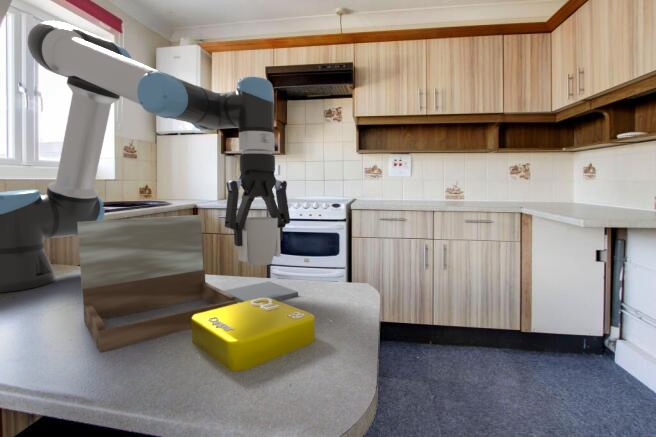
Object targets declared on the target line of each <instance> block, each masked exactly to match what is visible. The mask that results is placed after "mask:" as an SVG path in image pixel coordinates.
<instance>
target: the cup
mask: <svg viewBox="0 0 656 437" xmlns="http://www.w3.org/2000/svg"><path fill="white" fill-rule="evenodd" d="M277 224H278V218H272V217H270V216H251V217H249V216H247V219H246V222H245V225H244V228H243V231H247V258H248V262H247V263H248V265H249V266H253V267H261V266H268V265H271V264H272V263H273V259H274V257H275V256H274V253H275V247H276V240H277Z"/></svg>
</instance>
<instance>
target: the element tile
mask: <svg viewBox="0 0 656 437" xmlns="http://www.w3.org/2000/svg"><path fill="white" fill-rule="evenodd" d="M315 319H316V318H315V315H314V314H312V313H311V312H308V311H305V310H303V309H299V308H297V307H294V306H292V305H289V304H288V303H287V304H286V303H284V302H281V301H280V300H278V301H276V300H274V299H271V298H268V297H261V298H257V299H253V300H249V301H245V302H241V303H240V302H238V303H237V304H233V305H229V306H225V307H221V308H217V309H213V310H209V311H205V312H201V313H197V314H194V315H193V316H192V317H191V329H190V330H191V331H190V332H191V343H192V344H193V345H194V346H196V347H197V349H200V350H201V351H202V352H203V353H205V354H206V355H208V356H209V357H210V358H211V359H213V360H214V361H216V362H217V363H218V364H220V365H221V366H222V367H224V368H225V369H226V370H229V371H234V372H240V371H241V372H242V371H246V370H249V369H252V368H254V367H257V366H260V365H262V364H264V363H267V362H269V361H272V360H274V359H278V358H279V357H282V356H284V355H287V354H289V353H291V352H294V351H297V350H299V349H302V348H304V347H307V346H308V345H312V344H313V343H314V342H315V340H316V331H315V330H316V327H315V326H316V323H315V321H316V320H315Z"/></svg>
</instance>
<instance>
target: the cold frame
mask: <svg viewBox="0 0 656 437" xmlns="http://www.w3.org/2000/svg"><path fill="white" fill-rule="evenodd" d="M77 226H78V235H77V237H78V252H79V253H78V254H79V265H80V283H81V290H82V304H83V305H82V307H83V320H84V323H85V325H86V328H87V329H88V332H89V333H90V335H91V337H92V339H93V341H94V343H95V345H96V347H97V349H98V351H99V352H100V353H103V352H107V351H112V350H115V349H119V348H123V347H126V346H130V345H133V344H138V343H141V342H145V341H149V340H154V339H157V338H161V337H163V336H168V335H173V334H176V333H179V332H183V331H186V330H187V331H188V330H191V317H192V316H193V315H194V314H197V313H201V312H205V311H209V310H213V309H217V308H221V307H225V306H229V305H233V304H237V303H239V302H238V300H236V299H235V296H233V295H231V294H229V293H227V292H225V291H224V290H223V289H220V288H218V287H216V286H214V285H212V284H210V283H208V282H206V271H205V269H204V257H203V254H204V253H203V233H202V232H203V230H202V229H203V228H202V215H201V214H196V215H193V214H192V215H179V216H162V217H160V216H159V217H142V218H141V217H140V218H139V217H138V218H125V219H124V218H123V219H108V220H107V219H105V220H104V219H103V221H87V222H77ZM198 300H203V301H204V300H205V301H204V302H206V303H208V305H205V306H200V307H196V308H191V309H188V310H182V311H178V312H173V313H170V314H169V313H168V314H164V315H160V316H156V317H151V318H148V319H143V320H139V321H132V322H129V323H125V324H121V325H116V326H112V327H111V326H110V327H107V325H106V324H105V322H104V320H107V319H112V318H118V317H121V316H126V315H130V314H136V313H141V312H145V311H150V310H154V309H155V310H156V309H159V308H164V307H169V306H174V305H178V304H184V303H188V301H189V302H193V301H198ZM183 302H184V303H183ZM209 303H210V304H209Z"/></svg>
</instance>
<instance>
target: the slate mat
mask: <svg viewBox="0 0 656 437" xmlns="http://www.w3.org/2000/svg"><path fill="white" fill-rule="evenodd" d="M223 291H225V292H227V293H229V294H231V295H233V296H235V299H236V300H238V303H241V302H245V301H249V300H253V299H257V298H261V297H268V298H271V299H274V300H276V301H281V300H284V299H285V300H286V299H289V298H293V297H297V296H299V291H297V290H294V289H291V288H288V287H286V286H283V285H281V284H278V283H275V282H272V281H265V282H259V283H254V284H250V285H244V286H240V287H234V288H231V289H225V290H223Z"/></svg>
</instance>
